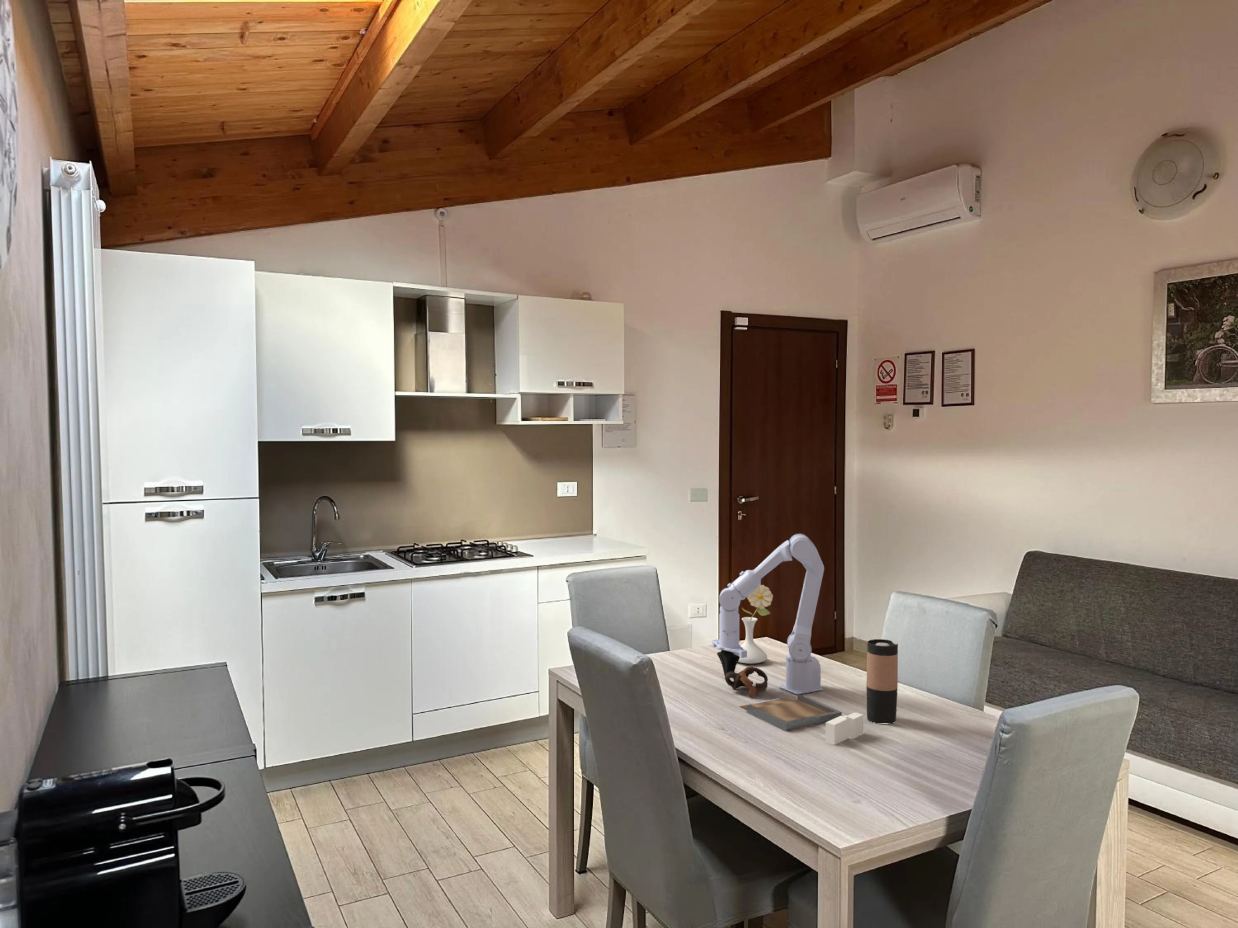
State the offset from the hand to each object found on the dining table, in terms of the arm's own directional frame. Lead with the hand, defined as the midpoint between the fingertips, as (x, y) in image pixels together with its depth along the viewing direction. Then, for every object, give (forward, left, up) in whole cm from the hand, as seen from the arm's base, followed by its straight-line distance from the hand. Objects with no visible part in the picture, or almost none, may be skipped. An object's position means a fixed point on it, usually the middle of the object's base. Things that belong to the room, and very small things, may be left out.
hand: (729, 676), depth 254 cm
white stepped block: (-1, +48, -4) cm, 48 cm away
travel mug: (-18, +42, -3) cm, 45 cm away
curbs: (0, +29, -3) cm, 29 cm away
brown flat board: (0, +26, -3) cm, 26 cm away
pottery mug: (-1, +7, -3) cm, 8 cm away
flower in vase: (-22, -18, -3) cm, 29 cm away
